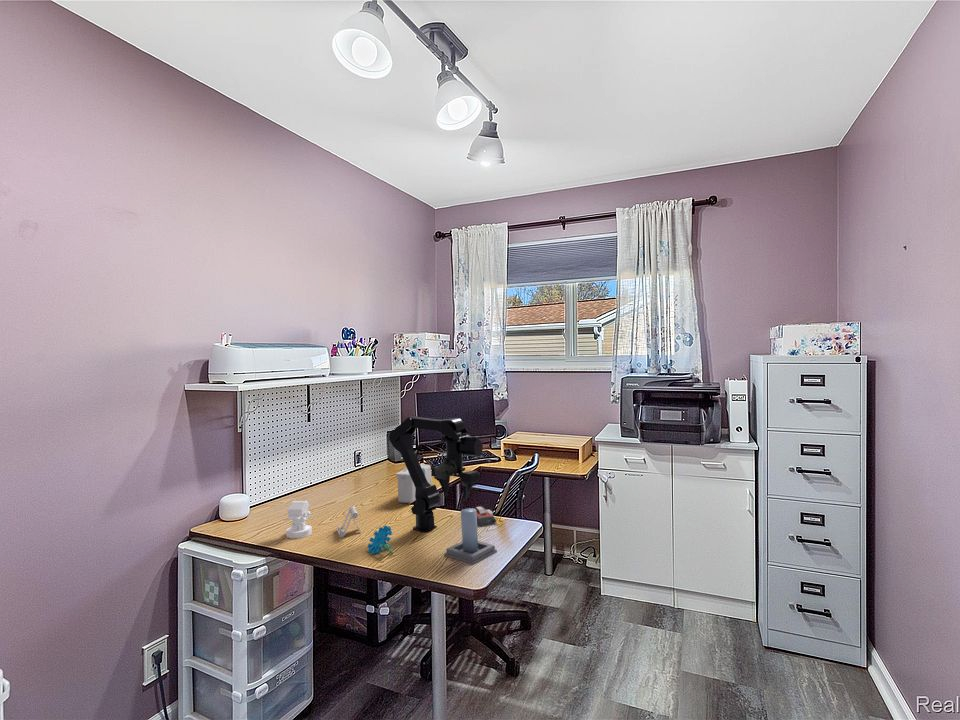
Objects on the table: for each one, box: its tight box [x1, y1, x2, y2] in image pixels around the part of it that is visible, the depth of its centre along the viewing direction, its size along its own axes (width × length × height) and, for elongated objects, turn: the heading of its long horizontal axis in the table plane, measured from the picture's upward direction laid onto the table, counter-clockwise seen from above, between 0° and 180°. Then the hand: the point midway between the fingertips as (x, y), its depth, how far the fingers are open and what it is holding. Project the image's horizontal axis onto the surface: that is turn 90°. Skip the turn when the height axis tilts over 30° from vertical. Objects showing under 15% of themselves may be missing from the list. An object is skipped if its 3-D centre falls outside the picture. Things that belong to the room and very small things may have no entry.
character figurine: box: [285, 500, 313, 539], centre depth 178 cm, size 9×10×12 cm
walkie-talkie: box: [474, 505, 497, 526], centre depth 192 cm, size 9×4×20 cm
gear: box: [367, 524, 394, 555], centre depth 161 cm, size 11×6×10 cm
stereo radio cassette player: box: [395, 450, 432, 504], centre depth 222 cm, size 21×8×20 cm, turn 161°
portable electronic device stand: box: [336, 505, 362, 539], centre depth 179 cm, size 9×8×8 cm
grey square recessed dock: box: [443, 540, 498, 565], centre depth 157 cm, size 12×12×2 cm
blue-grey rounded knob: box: [460, 507, 479, 554], centre depth 157 cm, size 5×5×13 cm
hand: (455, 498), depth 174 cm, fingers open, 9 cm apart
